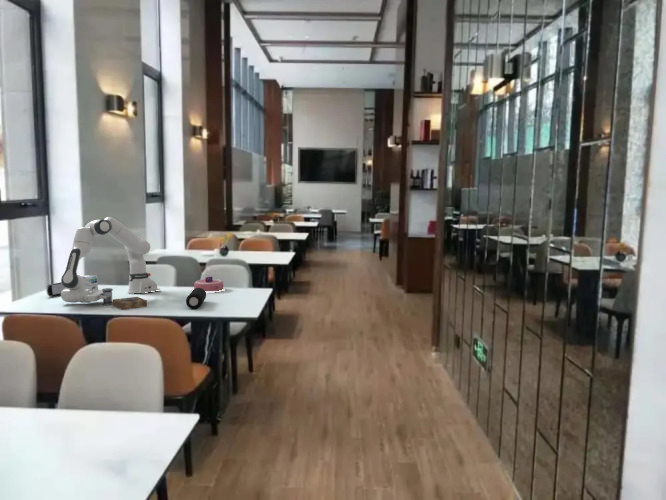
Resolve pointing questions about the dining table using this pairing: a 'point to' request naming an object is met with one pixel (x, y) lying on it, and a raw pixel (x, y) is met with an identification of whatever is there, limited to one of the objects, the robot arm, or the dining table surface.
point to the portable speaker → (196, 298)
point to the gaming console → (54, 289)
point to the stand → (129, 303)
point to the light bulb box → (91, 282)
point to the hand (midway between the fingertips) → (108, 295)
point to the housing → (109, 296)
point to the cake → (209, 284)
